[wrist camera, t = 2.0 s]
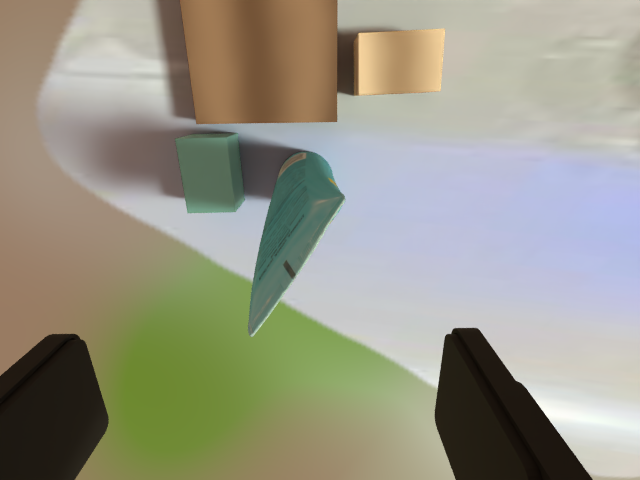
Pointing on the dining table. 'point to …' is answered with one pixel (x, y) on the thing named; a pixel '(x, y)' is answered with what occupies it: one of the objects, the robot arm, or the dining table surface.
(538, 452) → the robot arm
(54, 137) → the dining table surface
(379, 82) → the beech block
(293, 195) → the tube
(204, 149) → the teal block
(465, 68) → the dining table surface
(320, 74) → the plinth
